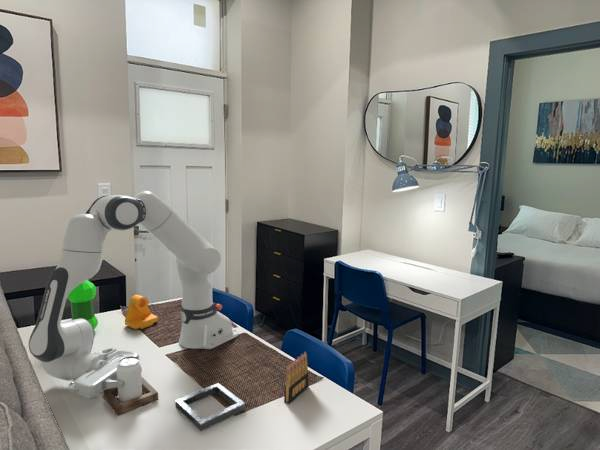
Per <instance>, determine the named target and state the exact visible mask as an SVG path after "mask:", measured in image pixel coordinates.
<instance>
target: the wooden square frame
mask: <svg viewBox="0 0 600 450" xmlns="http://www.w3.org/2000/svg"><path fill="white" fill-rule="evenodd" d="M141 378H142V393H144V394H142V396H139V397H137V398H134V399H132V400H129V401H126V402H124V403H120V402H119V399H118V398H117V397H118V387H116V388H110V389H108V388H107V389H105V390H104V391H103V392H102V398H103V400H104V401H105V402H106V403H107V405H108V406H109V407H110V409H111V410H112V411H113V412H114V413H115V415H116V416H117V417H120V416H123V415H125V414H127V413H128V414H129V413H130V412H133V411H135V410H137V409H141V408H143V407H145V406H147V405H150V404H153V403H155V402H157V401H159V392H158V391H157V390H156V389H155V388H154V387H153V386H152V385H151V384H150V383H149V382H148V381H147V380H146V379H145V378H144V377H143V376H142V375H141Z"/></svg>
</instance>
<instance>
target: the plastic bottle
mask: <svg viewBox="0 0 600 450" xmlns="http://www.w3.org/2000/svg"><path fill="white" fill-rule="evenodd" d="M96 295H97V287H96V286H95V284H94V283H93V282H91V281H89V279H88V280H86V281H84V282H83V283H81V284H79V285H78V286H77V287H75V288H74V289H73V290H72V291H71V292H70V293H69V295H68V297H67V301H69V302H70V310H71V311H70V312H71V319H70V320H74V319H79V318H83V319H86V320H87V321H89V322H90V323H91V325H92V326H93V329H94V330H95V329H96V328H97V326H98V325H99V324H98V323H99V322H98V321H99V320H98V318H97V317H96V315H95V314H96V313H95V302H94V298H96Z"/></svg>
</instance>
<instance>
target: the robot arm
mask: <svg viewBox="0 0 600 450" xmlns="http://www.w3.org/2000/svg"><path fill="white" fill-rule="evenodd" d="M137 225H141V226H142V228H144V229H145V230H146V231H147V232H148V233H149V234H150V235H151V236H152V237H153V238H155V240H157V241H158V243H160V244H161V245H162V246H163V247H164V248H165V249H167V250H168V251H169V252H171V253H172V255H173V257H174V259H175V263H176V264H175V265H176V267H177V273H178V276H179V281H180V289H181V306H180V307H181V308H180V317H181V329H180V335H179V339H178V343H179V346H181V347H184V348H187V349H205V350H211V349H214V348H216V347H218V346H220V345H222V344H224V343H226V342H229V341H231V340H232V339H234V338H237V337H238V336H239V331H238V330H237V329H236V328H235V327H234V326H233V324H232V320H231V319H230V318H229V317H227V316H226V315H224V314H223V313H221V312H220V311H221V310H222V309H223V305H222V304H220V303H215V302H213V284H212V280H211V278H210V276H209V275H210V274H213V273H215V272H216V271H218V270H219V268H220V266H221V262H222V256H221V253H220V251H219V250H218V249H217V248H216V247H214V246H213V245H212V244H211V243H210V242H209V241H208V240H207V239H205V237H204V236H202V235H201V234H200V233H199V232H198V231H197V230H195V229H194V228H193V227H192V226H190V225H189V224H188V223H187V222H186V221H185V220H184V219H183V218H182V217H181V216H180V215H178V213H177V212H176V211H175V210H174V209H173V208H172V207H171V206H170V205H169V204H168V203H166V202H165V200H163V199H162V198H160V197H159V196H158V195H156V194H155V193H154V192H151V191H148V190H144V191H140V192H138V193H136V194H135V195H134V196H133V197H132V196H129V195H122V194H121V195H120V194H111V195H103V196H100V197H98V198H96V199H95V200H94V201H93V202H92V204H91V205H90V207H89V208H88V210H86V212H85V213H79V214H76V215H74V216H72V217H70V219H69V221H68V224H67V226H66V229H65V232H64V239H63V242H62V248H61V249H62V250H61V255H60V259H59V261H58V264H57V265H56V268H55V269H54V270H53V271H51V274H50V275H49V277H48V280H47V283H46V285H45V290H44V294H43V296H42V300H41V305H40V309H39V312H38V316H37V319H36V322H35V325H34V328H33V330H32V332H31V334H30V336H29V340H28V350H29V351H30V354H31V355H32V356H33V357H34V359H36V360H38V361H40V362H41V367H42V370H44V373H46V374H47V375H49V376H50V377H53V378H55V379H58V380H59V379H60V380H63V381H69V382H70V383H69V385H68V386H67V389H68V390H69V391H72V392H75V393H76V394H78V395H79V396H82V397H85V398H88V399H92V398H96V397H97V396H98V395H100V394H102V393H103V391H104V390H105V389H110V388H116V387H118V388H122V387H123V386H124V381H123V380H120V379H119V380H117V365H118V361H119V360H120V359H122V358H125V357H129V356H134V357H137V358H138V359H139V360H140V355H139V353H138V352H135V351H131V350H125V349H124V350H123V349H119V350H117V348H116V347H109V348H106V349H103V350H100V351H96V352H93V353H92V348H93V345H94V340H95V329H93V326H92V325H91V323H90V322H89V321H87V320H86V319H83V318H79V319H74V320H71V319H70V320H69V319H68V320H65V321H62V318H63V314H64V310H65V306H66V302H67V300H68V298H67V297H68V295H69V293H70V292H71V291H72V290H73V289H74V288H75V287H77V286H78V285H79V284H81V283H83V282H84V281H86V280H88V281H89V279H92V278H93V277H94V276H95V275H96V274H97V273H98V272H99V271H100V269H101V265H102V263H103V256H104V255H103V254H104V242H105V240H106V236H107V235H108V233H109V232H110V231H112V230H113V231H127V230H130V229H133V228H134V227H136V226H137ZM142 371H143V370H142V369H141V373H143V372H142Z"/></svg>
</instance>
